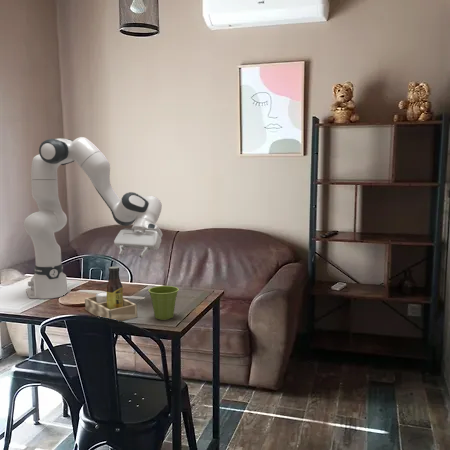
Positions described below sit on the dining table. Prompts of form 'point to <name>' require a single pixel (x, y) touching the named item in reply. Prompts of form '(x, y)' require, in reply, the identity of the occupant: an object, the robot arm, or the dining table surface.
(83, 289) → the dining table surface
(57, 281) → the robot arm
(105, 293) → the white cylinder
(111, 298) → the sauce bottle
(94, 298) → the caddy
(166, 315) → the plant pot
